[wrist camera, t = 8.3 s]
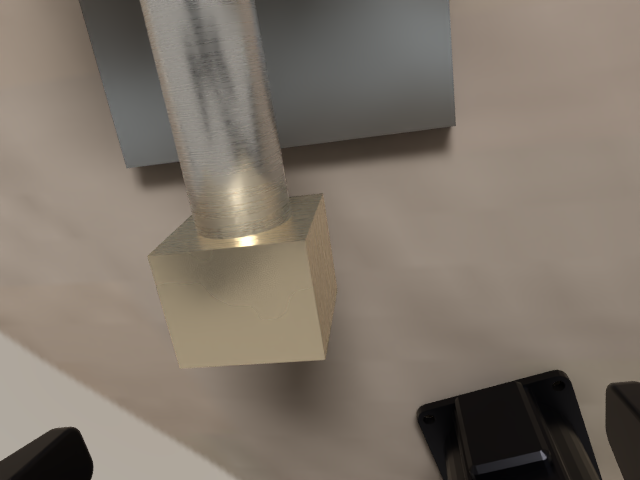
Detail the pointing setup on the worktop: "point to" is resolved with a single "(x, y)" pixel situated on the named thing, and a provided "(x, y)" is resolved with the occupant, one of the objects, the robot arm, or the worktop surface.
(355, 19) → the bearing block
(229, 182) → the shaft
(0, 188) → the worktop surface
